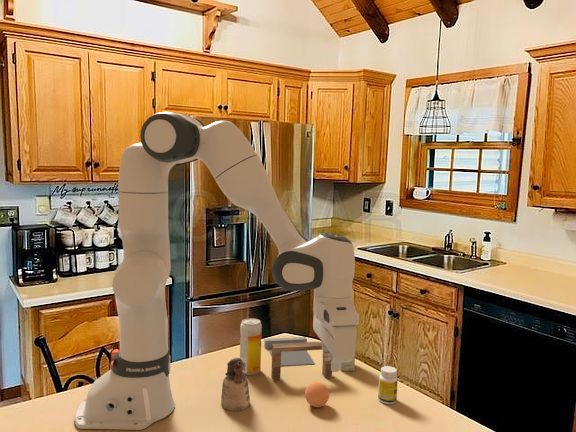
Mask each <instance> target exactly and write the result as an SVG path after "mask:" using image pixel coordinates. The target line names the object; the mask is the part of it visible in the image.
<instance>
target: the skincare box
mask: <svg viewBox="0 0 576 432" xmlns="http://www.w3.org/2000/svg"><path fill="white" fill-rule="evenodd" d="M355 362H356V355H355V356H354V358H353V360H352V361H351V362H341V363H340V370H339V371H344V372H345V371H348V372H349V371H350V372H351V371H352V372H354V371H355V365H356V364H355Z"/></svg>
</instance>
